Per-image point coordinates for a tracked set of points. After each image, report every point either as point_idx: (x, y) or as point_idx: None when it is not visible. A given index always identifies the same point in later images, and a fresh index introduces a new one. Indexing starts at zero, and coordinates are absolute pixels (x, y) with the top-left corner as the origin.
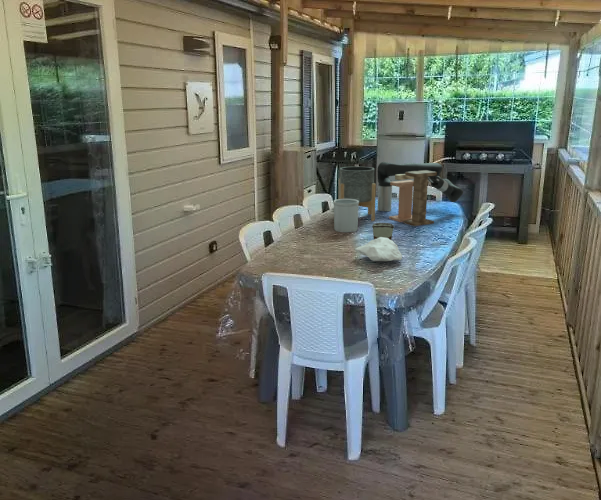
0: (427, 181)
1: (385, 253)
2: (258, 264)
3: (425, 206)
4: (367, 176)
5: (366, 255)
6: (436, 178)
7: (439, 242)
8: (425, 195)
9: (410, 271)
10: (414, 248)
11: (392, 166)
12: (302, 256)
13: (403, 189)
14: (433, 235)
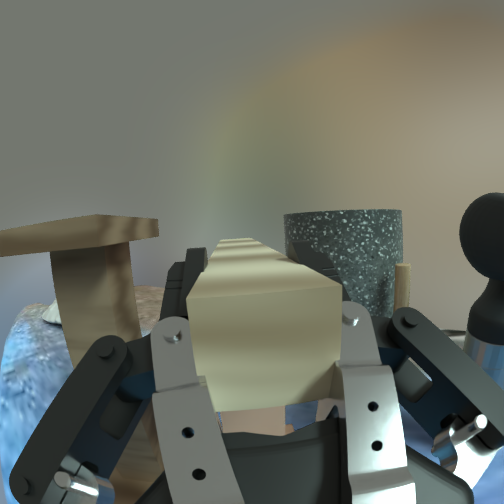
0: (56, 288)
1: (53, 303)
2: (151, 288)
3: None
4: (286, 236)
5: None
6: (54, 436)
7: (17, 376)
8: None
9: (30, 318)
10: (46, 347)
11: (490, 213)
12: (141, 299)
13: None
14: (38, 401)
